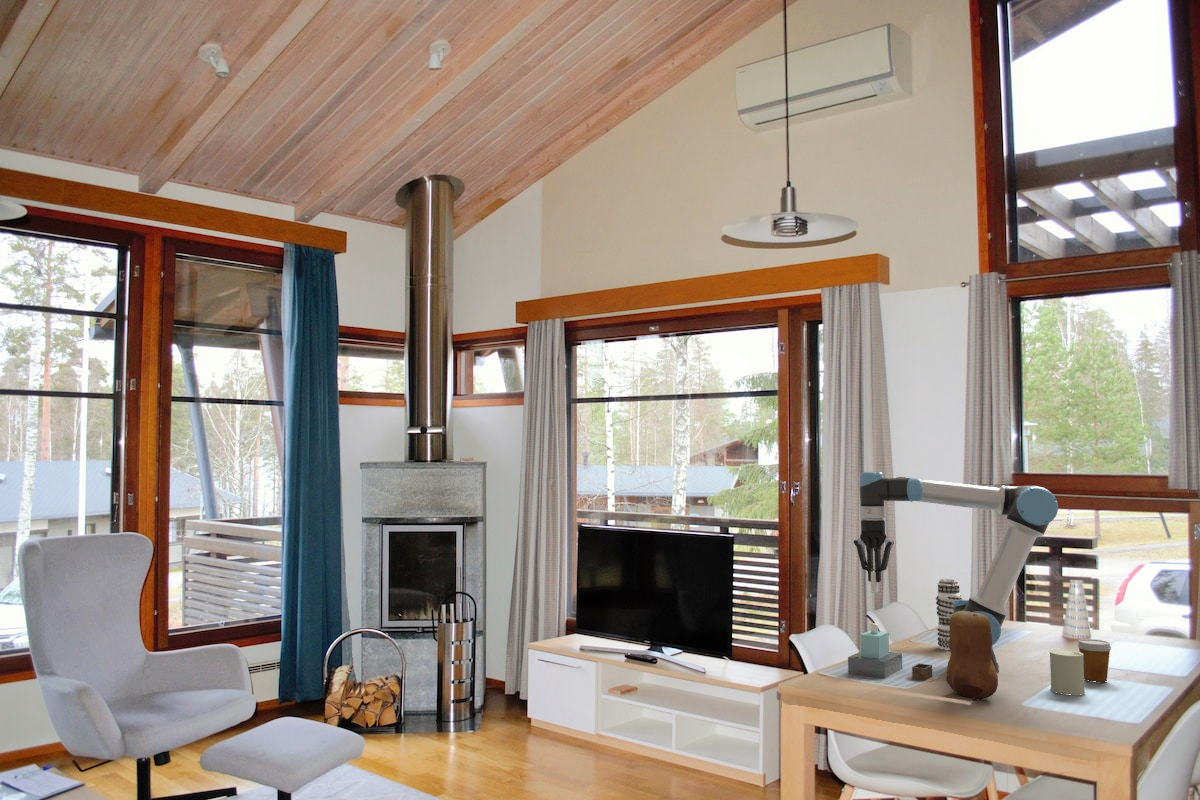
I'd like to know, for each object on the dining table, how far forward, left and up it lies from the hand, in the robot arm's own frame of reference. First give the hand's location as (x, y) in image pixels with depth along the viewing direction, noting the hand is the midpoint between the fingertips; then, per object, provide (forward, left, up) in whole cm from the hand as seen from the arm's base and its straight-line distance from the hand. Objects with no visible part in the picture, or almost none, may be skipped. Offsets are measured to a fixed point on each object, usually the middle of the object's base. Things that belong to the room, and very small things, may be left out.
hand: (875, 592), depth 299 cm
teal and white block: (0, 0, -24) cm, 24 cm away
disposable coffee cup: (-33, -58, -27) cm, 72 cm away
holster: (-13, -7, -26) cm, 30 cm away
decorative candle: (+23, -52, -27) cm, 62 cm away
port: (0, 0, -26) cm, 26 cm away
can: (-40, -38, -27) cm, 61 cm away
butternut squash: (-35, -6, -27) cm, 45 cm away
